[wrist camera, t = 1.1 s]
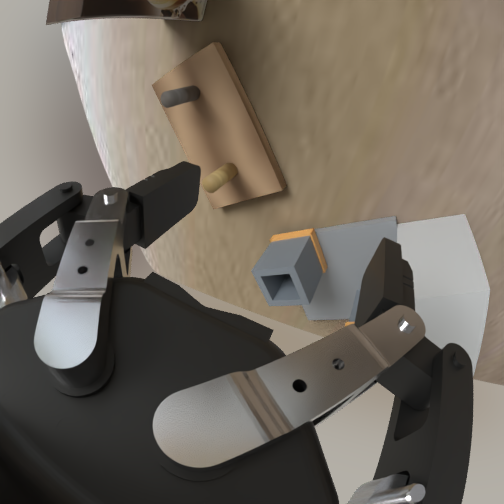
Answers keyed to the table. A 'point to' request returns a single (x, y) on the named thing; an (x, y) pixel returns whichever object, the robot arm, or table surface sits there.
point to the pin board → (219, 128)
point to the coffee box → (124, 9)
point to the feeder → (424, 275)
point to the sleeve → (290, 268)
